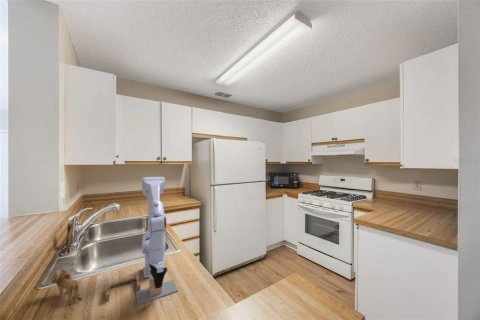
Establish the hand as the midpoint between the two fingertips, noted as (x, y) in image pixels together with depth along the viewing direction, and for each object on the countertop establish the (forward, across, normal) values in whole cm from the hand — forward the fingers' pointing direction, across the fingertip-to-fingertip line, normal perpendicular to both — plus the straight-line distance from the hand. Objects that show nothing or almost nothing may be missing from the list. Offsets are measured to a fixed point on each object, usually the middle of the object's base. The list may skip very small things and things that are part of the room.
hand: (156, 281), depth 75 cm
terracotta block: (+3, 0, 0) cm, 4 cm away
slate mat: (+4, 0, 0) cm, 4 cm away
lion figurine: (+4, -15, -29) cm, 33 cm away
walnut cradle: (+4, -8, -11) cm, 14 cm away
